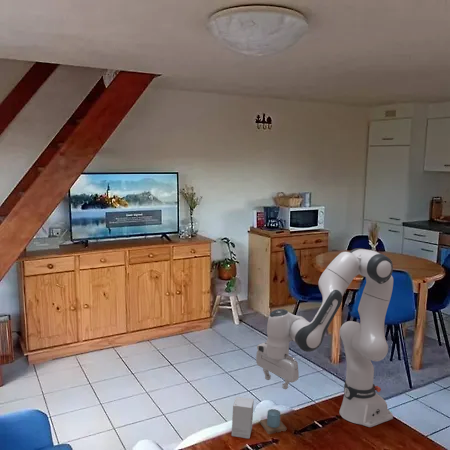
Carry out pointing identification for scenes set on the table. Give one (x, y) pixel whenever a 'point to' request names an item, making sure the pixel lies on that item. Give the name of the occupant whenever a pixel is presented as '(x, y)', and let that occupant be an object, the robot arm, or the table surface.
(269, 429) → the post base
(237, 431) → the supplement box
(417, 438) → the table surface
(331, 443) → the table surface
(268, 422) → the teal cap
